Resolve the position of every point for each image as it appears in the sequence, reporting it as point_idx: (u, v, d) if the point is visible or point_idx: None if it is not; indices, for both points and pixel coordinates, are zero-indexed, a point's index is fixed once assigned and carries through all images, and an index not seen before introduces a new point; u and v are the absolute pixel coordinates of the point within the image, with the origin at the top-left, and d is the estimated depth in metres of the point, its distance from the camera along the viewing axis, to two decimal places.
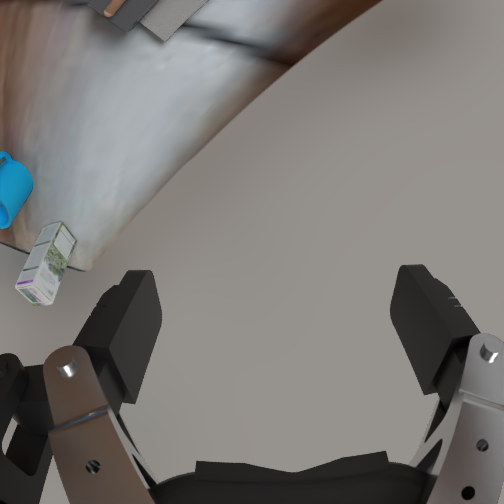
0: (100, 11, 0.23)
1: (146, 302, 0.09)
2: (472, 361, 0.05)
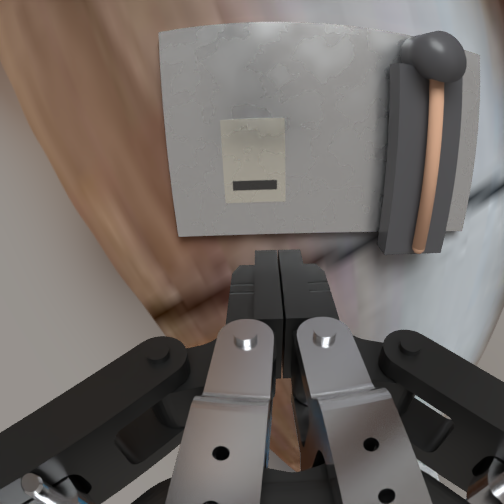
0: (404, 251, 0.26)
1: None
2: (309, 356, 0.06)
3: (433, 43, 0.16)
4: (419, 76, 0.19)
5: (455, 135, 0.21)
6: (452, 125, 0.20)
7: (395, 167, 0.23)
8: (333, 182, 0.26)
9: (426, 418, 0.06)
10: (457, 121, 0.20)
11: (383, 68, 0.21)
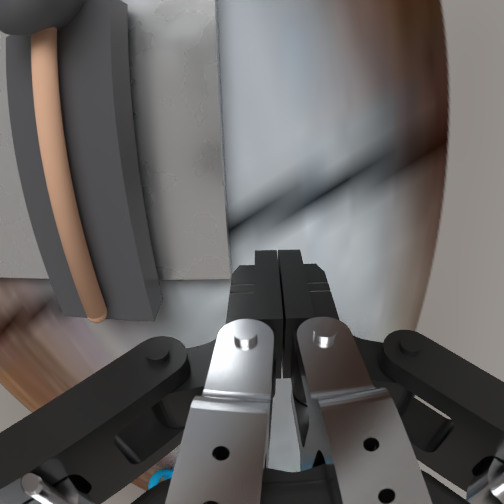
0: None
1: None
2: (309, 356, 0.06)
3: None
4: (30, 39, 0.09)
5: (104, 109, 0.11)
6: (93, 92, 0.11)
7: (24, 193, 0.13)
8: (7, 217, 0.16)
9: (426, 418, 0.06)
10: (103, 81, 0.11)
11: None
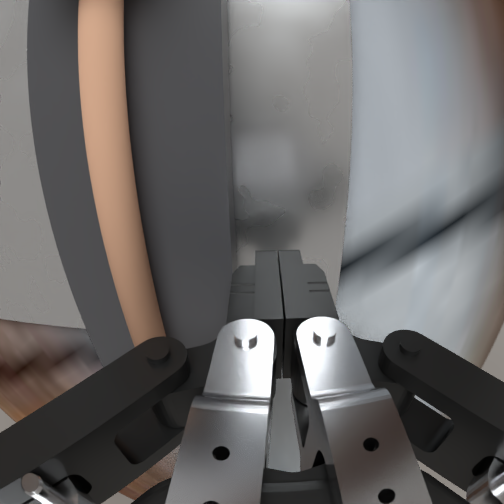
0: None
1: None
2: (309, 356, 0.06)
3: None
4: None
5: (205, 105, 0.07)
6: (187, 77, 0.07)
7: (52, 226, 0.09)
8: (23, 250, 0.12)
9: (426, 418, 0.06)
10: (207, 60, 0.07)
11: None
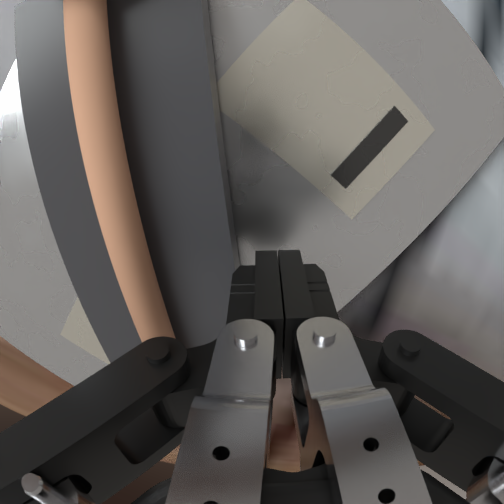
0: None
1: None
2: (309, 356, 0.06)
3: None
4: (56, 4, 0.06)
5: (195, 106, 0.08)
6: (175, 80, 0.07)
7: (55, 236, 0.09)
8: None
9: (426, 418, 0.06)
10: (192, 62, 0.07)
11: None
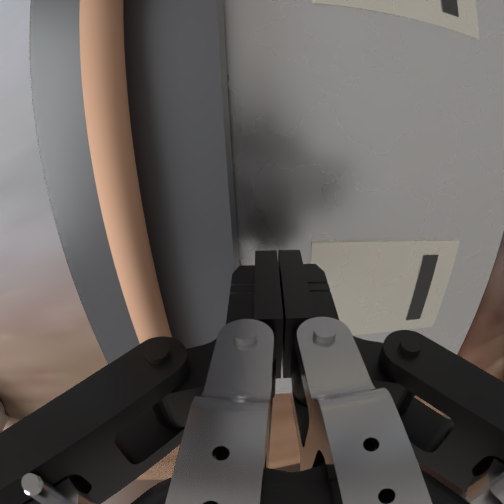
0: None
1: None
2: (309, 356, 0.06)
3: None
4: None
5: (204, 103, 0.08)
6: (186, 76, 0.07)
7: (57, 225, 0.09)
8: (445, 146, 0.10)
9: (426, 418, 0.06)
10: (204, 60, 0.07)
11: None
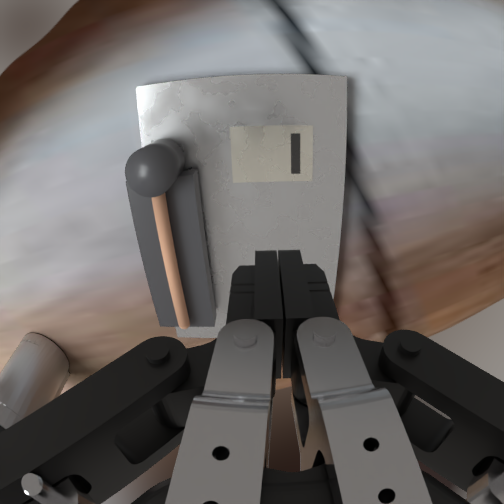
0: (176, 325, 0.33)
1: None
2: (309, 356, 0.06)
3: (134, 164, 0.23)
4: None
5: (194, 232, 0.28)
6: (188, 224, 0.27)
7: None
8: (293, 231, 0.30)
9: (426, 418, 0.06)
10: (193, 219, 0.27)
11: None
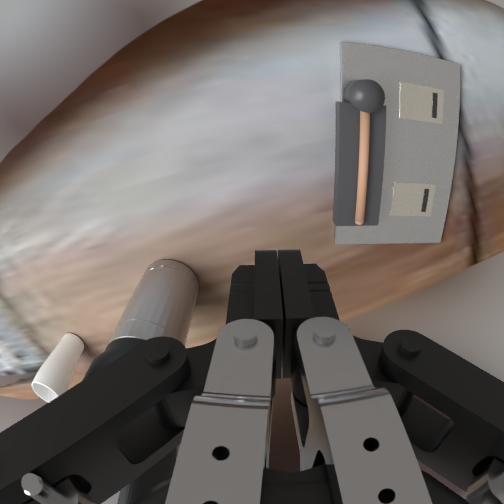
0: (350, 224, 0.41)
1: None
2: (309, 356, 0.06)
3: (360, 88, 0.31)
4: (353, 109, 0.34)
5: (381, 145, 0.36)
6: (378, 139, 0.35)
7: (338, 168, 0.37)
8: (429, 156, 0.38)
9: (426, 418, 0.06)
10: (382, 136, 0.35)
11: None
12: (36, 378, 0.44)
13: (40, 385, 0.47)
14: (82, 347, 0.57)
